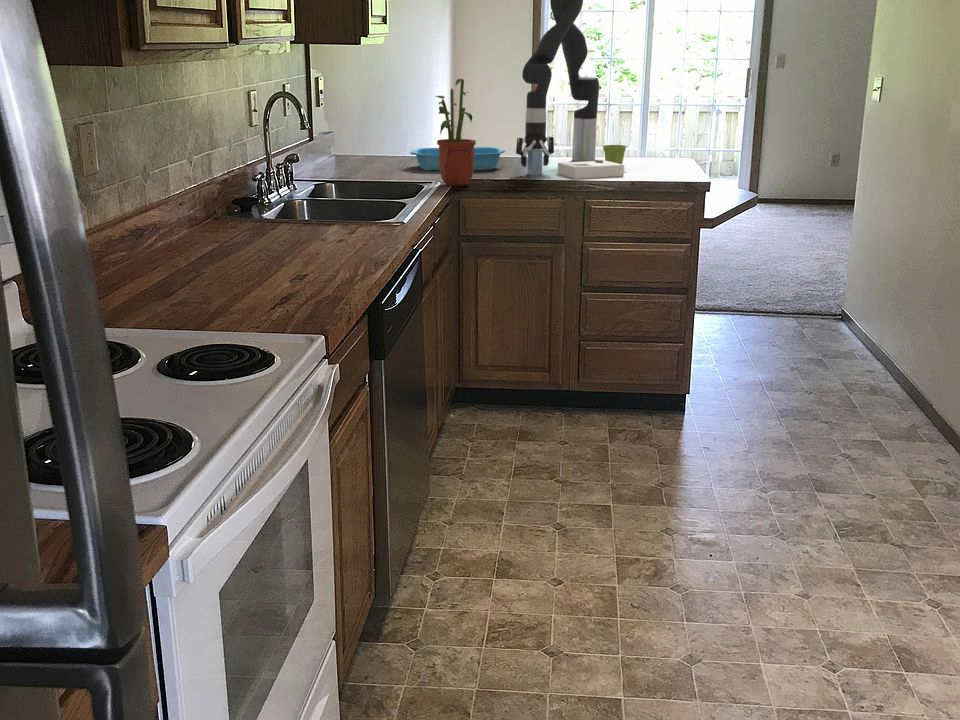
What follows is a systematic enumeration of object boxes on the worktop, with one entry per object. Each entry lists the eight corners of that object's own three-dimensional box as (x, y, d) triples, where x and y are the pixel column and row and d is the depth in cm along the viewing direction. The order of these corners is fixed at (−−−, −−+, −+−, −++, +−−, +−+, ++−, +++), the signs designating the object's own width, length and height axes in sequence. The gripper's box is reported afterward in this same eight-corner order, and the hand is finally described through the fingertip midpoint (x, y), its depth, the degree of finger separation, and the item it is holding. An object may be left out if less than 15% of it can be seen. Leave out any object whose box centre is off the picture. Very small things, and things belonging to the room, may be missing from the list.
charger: (527, 174, 358) (527, 149, 355) (537, 173, 360) (537, 148, 357) (531, 175, 355) (532, 150, 352) (541, 174, 356) (542, 150, 353)
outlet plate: (557, 173, 359) (558, 160, 358) (605, 171, 366) (605, 158, 365) (574, 178, 347) (575, 164, 346) (623, 175, 354) (624, 162, 353)
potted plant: (483, 184, 332) (483, 78, 321) (457, 189, 319) (457, 79, 308) (441, 180, 341) (440, 77, 330) (415, 185, 328) (413, 78, 317)
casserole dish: (410, 172, 363) (410, 153, 360) (409, 165, 384) (409, 146, 382) (508, 171, 366) (508, 152, 364) (501, 164, 387) (501, 146, 385)
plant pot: (597, 169, 372) (598, 146, 370) (606, 166, 380) (607, 144, 377) (620, 170, 368) (622, 147, 365) (629, 168, 376) (630, 145, 373)
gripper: (549, 119, 357) (547, 164, 362) (513, 120, 352) (513, 165, 357) (558, 121, 350) (556, 166, 355) (522, 122, 345) (521, 167, 350)
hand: (534, 166), depth 356 cm, fingers open, 8 cm apart
